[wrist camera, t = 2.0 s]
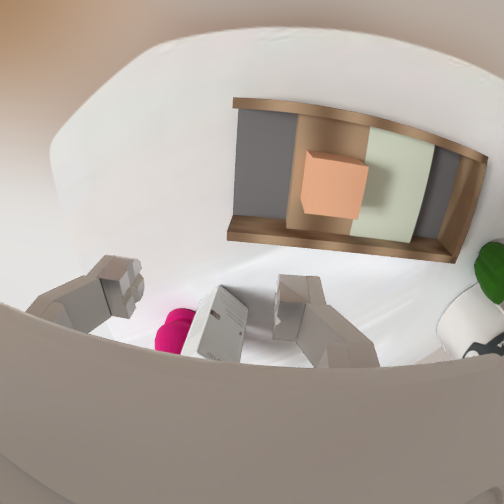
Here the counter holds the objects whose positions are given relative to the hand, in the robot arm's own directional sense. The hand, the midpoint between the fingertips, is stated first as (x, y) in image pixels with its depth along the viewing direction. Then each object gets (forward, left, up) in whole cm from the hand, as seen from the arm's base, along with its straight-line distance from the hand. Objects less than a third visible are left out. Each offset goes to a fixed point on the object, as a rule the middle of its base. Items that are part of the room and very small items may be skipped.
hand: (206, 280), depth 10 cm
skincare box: (+2, +20, -21) cm, 29 cm away
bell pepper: (-39, +8, -21) cm, 45 cm away
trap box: (-13, 0, -21) cm, 25 cm away
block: (-8, 0, -18) cm, 20 cm away
